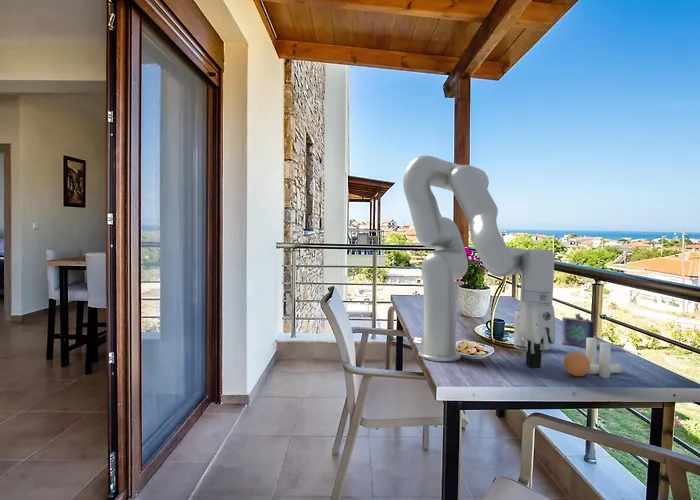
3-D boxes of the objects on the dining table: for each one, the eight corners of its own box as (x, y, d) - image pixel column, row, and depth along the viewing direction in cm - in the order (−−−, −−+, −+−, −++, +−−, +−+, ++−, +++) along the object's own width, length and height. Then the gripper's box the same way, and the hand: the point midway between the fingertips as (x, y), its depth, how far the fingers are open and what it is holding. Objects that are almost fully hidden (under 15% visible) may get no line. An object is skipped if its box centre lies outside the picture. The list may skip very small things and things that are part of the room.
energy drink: (533, 350, 126) (534, 313, 126) (515, 349, 128) (516, 312, 127) (529, 346, 132) (530, 309, 131) (512, 345, 133) (513, 309, 132)
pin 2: (597, 376, 104) (598, 343, 103) (600, 374, 105) (601, 341, 105) (608, 378, 102) (609, 345, 102) (610, 376, 104) (611, 343, 103)
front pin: (588, 362, 106) (618, 361, 107) (583, 367, 108) (613, 366, 108) (592, 371, 104) (623, 370, 105) (588, 375, 106) (618, 374, 107)
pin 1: (584, 369, 109) (585, 338, 108) (586, 367, 110) (587, 337, 110) (594, 372, 107) (595, 340, 107) (596, 369, 109) (597, 338, 108)
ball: (592, 370, 105) (571, 381, 106) (577, 349, 108) (556, 360, 108) (597, 368, 100) (575, 379, 100) (581, 346, 102) (560, 357, 103)
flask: (560, 344, 135) (561, 312, 134) (563, 342, 137) (564, 311, 136) (591, 349, 128) (592, 316, 128) (594, 348, 130) (595, 315, 130)
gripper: (568, 302, 97) (565, 377, 98) (533, 292, 111) (530, 358, 112) (539, 302, 96) (536, 378, 97) (507, 292, 111) (505, 358, 112)
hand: (533, 367), depth 105 cm, fingers closed
